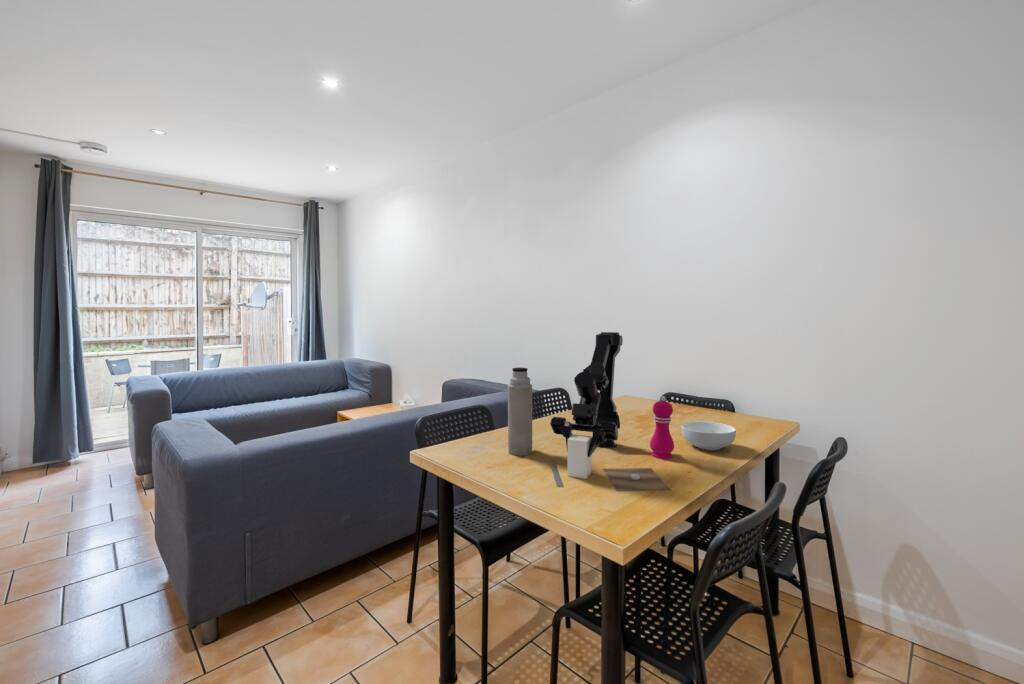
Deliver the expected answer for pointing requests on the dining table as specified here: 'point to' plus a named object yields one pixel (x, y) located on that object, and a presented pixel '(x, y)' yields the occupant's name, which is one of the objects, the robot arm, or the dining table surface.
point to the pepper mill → (662, 430)
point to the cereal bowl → (708, 434)
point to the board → (625, 483)
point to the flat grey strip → (557, 476)
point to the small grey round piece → (635, 476)
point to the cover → (578, 456)
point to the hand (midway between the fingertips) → (578, 455)
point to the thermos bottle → (520, 413)
